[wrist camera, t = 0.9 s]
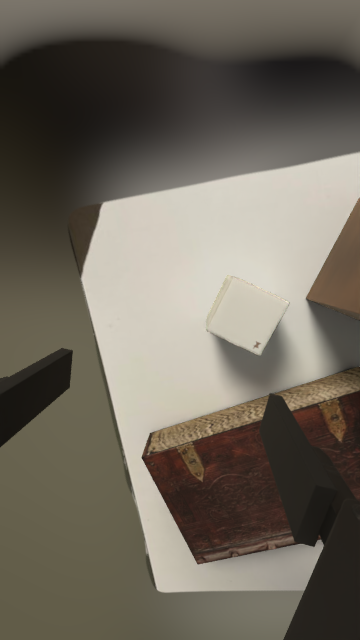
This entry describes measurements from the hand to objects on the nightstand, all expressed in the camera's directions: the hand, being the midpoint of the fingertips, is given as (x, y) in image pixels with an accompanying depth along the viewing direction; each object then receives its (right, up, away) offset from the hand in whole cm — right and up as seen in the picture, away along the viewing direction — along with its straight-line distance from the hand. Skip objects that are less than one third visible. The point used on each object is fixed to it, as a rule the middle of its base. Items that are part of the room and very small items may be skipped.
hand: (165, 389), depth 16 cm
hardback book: (+14, -15, +19) cm, 27 cm away
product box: (+8, +6, +15) cm, 18 cm away
